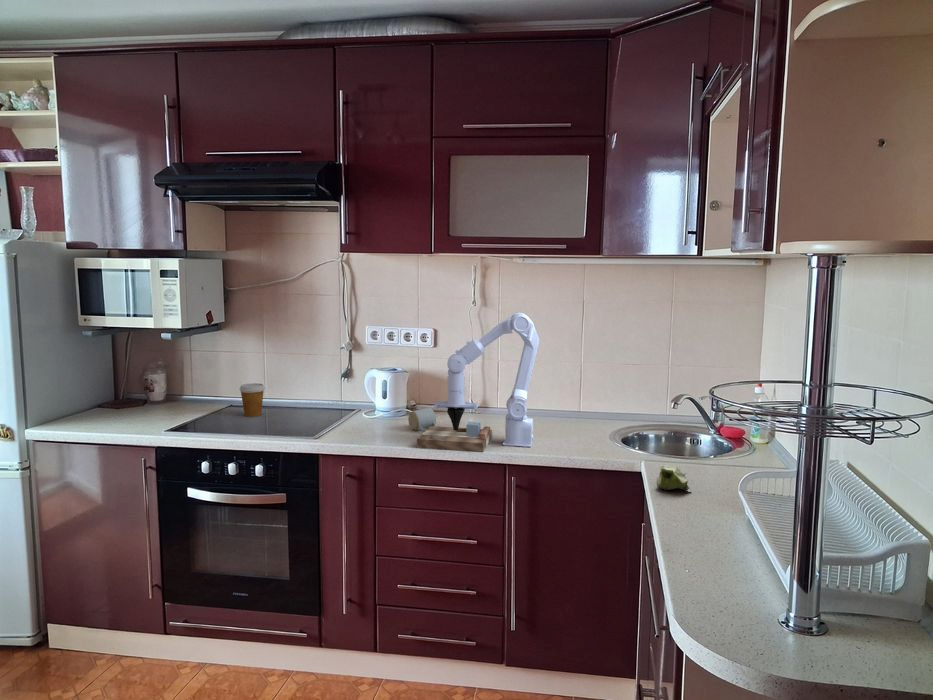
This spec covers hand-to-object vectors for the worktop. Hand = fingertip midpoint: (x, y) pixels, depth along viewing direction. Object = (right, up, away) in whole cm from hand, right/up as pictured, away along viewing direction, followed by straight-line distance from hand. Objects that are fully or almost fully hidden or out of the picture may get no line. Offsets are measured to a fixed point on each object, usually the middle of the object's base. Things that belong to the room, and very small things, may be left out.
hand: (455, 429), depth 222 cm
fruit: (+59, -11, -44) cm, 75 cm away
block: (+6, -2, -1) cm, 6 cm away
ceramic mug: (-12, -3, +18) cm, 22 cm away
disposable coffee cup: (-81, +1, +39) cm, 90 cm away
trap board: (0, -5, +1) cm, 5 cm away
